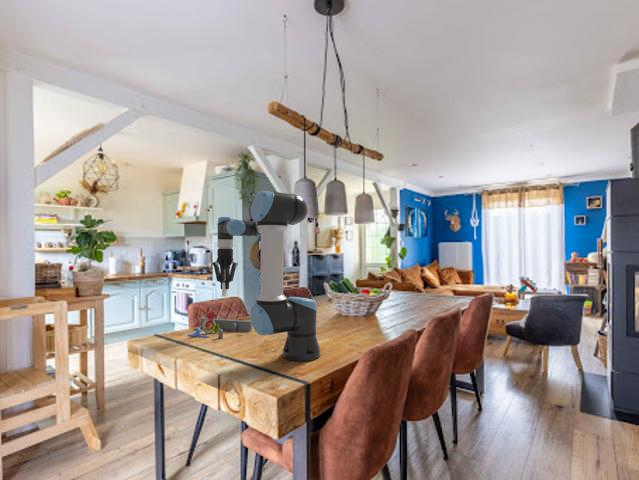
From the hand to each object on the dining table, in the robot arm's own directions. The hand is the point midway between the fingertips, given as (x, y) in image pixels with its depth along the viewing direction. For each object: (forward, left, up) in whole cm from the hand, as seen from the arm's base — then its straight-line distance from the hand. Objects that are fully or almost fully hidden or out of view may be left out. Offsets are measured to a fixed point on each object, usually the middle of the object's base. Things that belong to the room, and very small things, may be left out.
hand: (224, 295), depth 173 cm
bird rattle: (+1, +8, -19) cm, 21 cm away
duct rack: (+1, +4, -19) cm, 19 cm away
